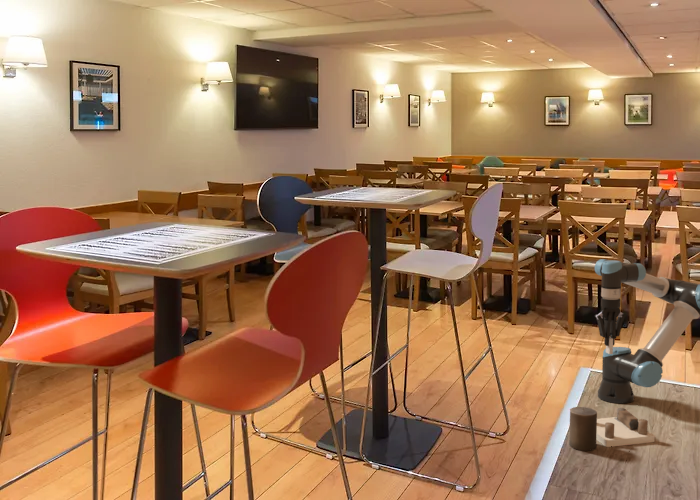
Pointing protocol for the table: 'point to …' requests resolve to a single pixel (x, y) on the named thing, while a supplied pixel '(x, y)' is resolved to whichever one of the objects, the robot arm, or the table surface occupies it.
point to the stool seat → (622, 433)
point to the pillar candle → (583, 428)
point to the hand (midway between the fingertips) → (609, 353)
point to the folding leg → (627, 418)
